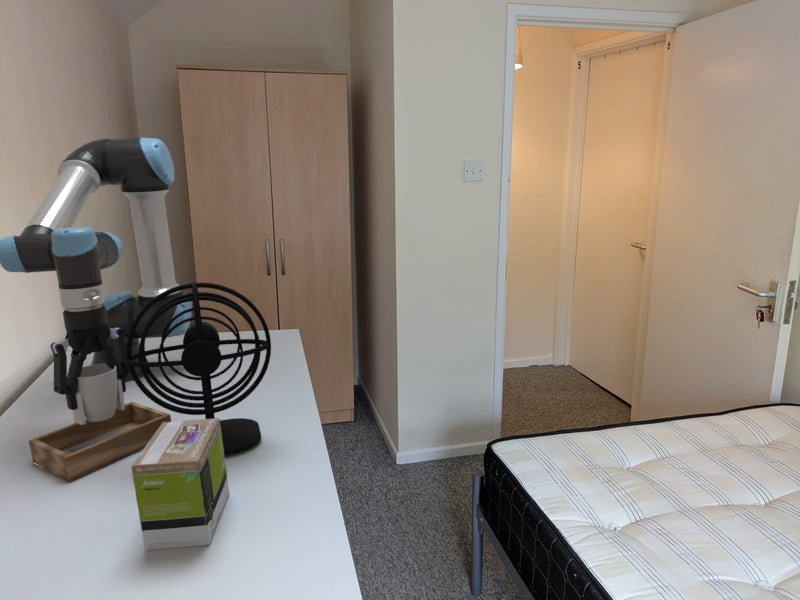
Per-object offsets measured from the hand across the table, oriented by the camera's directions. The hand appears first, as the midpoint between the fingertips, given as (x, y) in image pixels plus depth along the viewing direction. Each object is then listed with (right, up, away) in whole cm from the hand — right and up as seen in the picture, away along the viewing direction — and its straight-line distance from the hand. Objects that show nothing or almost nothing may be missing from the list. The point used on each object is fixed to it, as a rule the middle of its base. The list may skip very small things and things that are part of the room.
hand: (100, 415), depth 118 cm
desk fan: (+22, -7, +2) cm, 23 cm away
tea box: (+27, -13, -23) cm, 38 cm away
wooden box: (0, -7, +2) cm, 8 cm away
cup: (0, 0, 0) cm, 0 cm away
